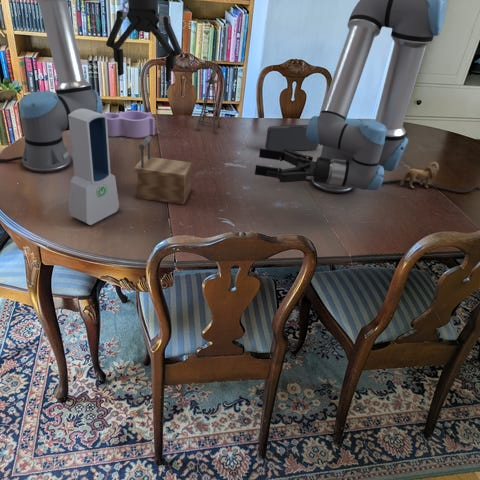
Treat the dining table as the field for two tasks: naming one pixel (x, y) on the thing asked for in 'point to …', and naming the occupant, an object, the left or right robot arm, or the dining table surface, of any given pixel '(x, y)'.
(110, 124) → the purple wavy organizer
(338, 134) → the right robot arm
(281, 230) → the dining table surface
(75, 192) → the electronic device
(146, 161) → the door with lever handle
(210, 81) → the miniature windmill
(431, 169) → the lion figurine
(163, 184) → the chest
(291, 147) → the rounded dark grey slab
